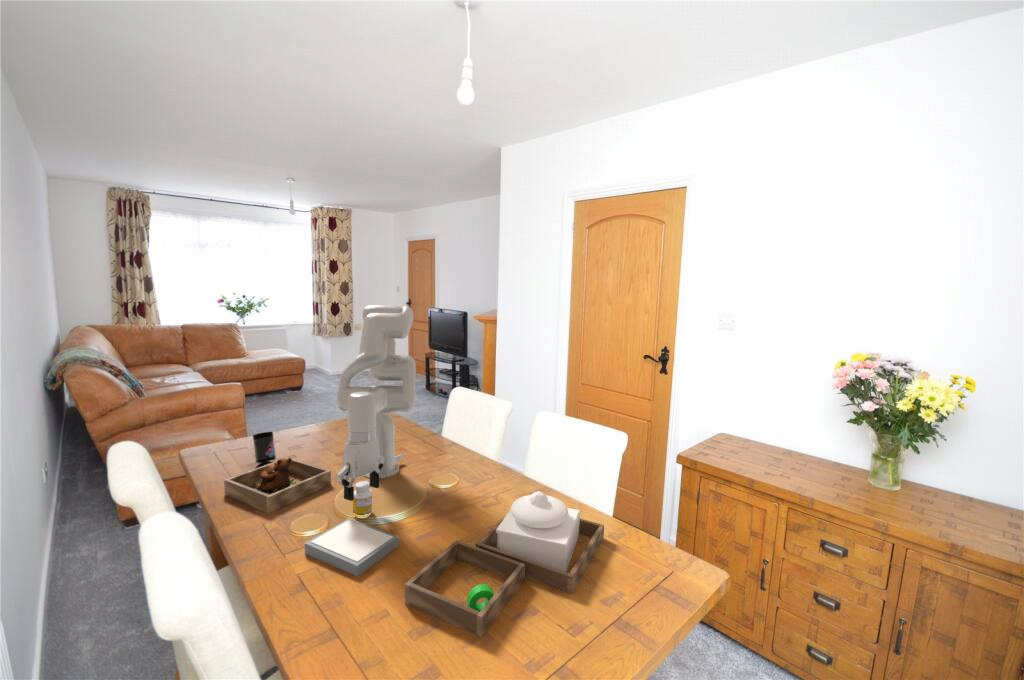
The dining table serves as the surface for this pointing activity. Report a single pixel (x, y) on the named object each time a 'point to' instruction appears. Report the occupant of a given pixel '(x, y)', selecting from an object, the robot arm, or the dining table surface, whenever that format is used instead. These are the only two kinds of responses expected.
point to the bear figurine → (275, 477)
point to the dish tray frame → (545, 572)
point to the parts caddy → (453, 610)
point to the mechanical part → (479, 596)
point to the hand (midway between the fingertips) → (362, 493)
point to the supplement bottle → (362, 498)
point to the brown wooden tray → (242, 492)
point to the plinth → (351, 546)
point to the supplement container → (264, 447)
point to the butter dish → (540, 530)
